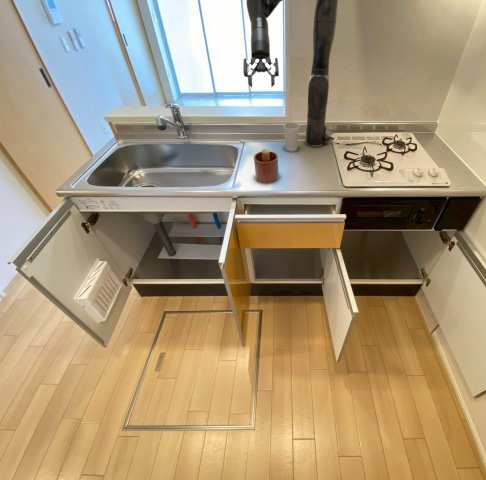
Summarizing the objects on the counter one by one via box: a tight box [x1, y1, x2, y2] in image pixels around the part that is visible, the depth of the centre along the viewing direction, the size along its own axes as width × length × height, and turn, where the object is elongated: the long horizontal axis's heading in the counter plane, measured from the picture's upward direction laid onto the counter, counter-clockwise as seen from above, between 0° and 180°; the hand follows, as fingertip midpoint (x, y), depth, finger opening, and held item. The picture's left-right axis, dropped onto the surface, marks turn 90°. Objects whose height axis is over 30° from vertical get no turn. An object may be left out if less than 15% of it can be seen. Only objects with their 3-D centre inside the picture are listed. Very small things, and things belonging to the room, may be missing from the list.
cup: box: [283, 121, 301, 153], centre depth 134 cm, size 8×8×12 cm
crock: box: [253, 150, 280, 184], centre depth 117 cm, size 10×10×10 cm
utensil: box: [261, 148, 270, 162], centre depth 115 cm, size 3×3×12 cm
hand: (261, 85), depth 108 cm, fingers open, 8 cm apart
